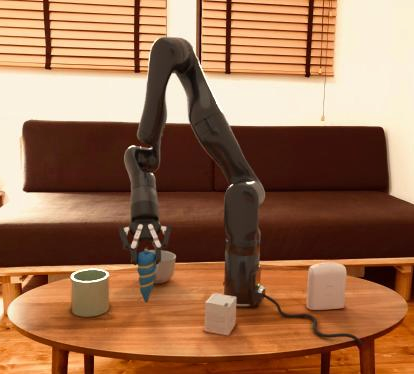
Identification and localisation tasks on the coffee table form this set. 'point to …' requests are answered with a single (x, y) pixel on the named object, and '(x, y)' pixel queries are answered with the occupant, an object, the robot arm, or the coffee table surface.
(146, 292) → the ornament
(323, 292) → the photo printer
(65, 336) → the coffee table surface
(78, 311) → the green cup
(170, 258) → the teacup
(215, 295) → the product carton
